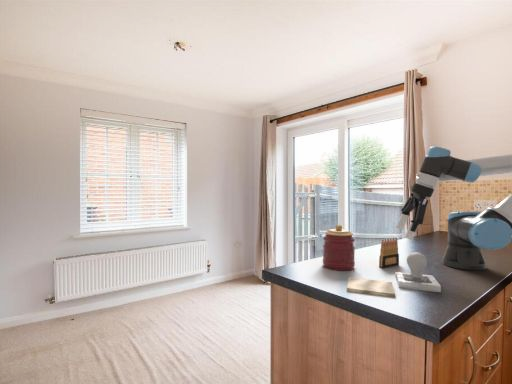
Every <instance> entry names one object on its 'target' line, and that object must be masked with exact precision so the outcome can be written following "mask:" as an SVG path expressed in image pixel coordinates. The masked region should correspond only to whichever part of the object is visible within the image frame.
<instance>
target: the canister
mask: <svg viewBox="0 0 512 384" xmlns="http://www.w3.org/2000/svg"><path fill="white" fill-rule="evenodd" d="M324 234H325V236H323V237H322V240H323V245H322V247H323V249H322V266H323V267H324V268H325V269H329V270H333V271H334V270H335V271H351V270H353V269H355V266H356V264H355V263H356V261H355V251H356V247H355V243H354V242H355V241H356V239H355V238H354V237H353V235H354V233H353V232H352V231H350V230H349V229H345V228H344V229H343V226H342V225H341V224H337V225H336V226H335V228H331V229H330V228H329V229H328V230H326V231H324Z"/></svg>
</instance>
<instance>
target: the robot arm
mask: <svg viewBox="0 0 512 384" xmlns="http://www.w3.org/2000/svg"><path fill="white" fill-rule="evenodd" d="M451 153H452V151H451V150H450V149H447V148H444V147H441V146H437V145H434V146H433V145H432V146H430V147H429V148H428V150H427V152H426V154H425V155H424V159H423V161H422V164H421V166H420V169H419V171H418V173H417V174H415V176H416V178H415V180H414V181H415V182H414V183H413V185H412V186H411V189H410V191H411V193H410V195H409V197H408V198H407V200H406V202H405V203H404V205H403V206H402V208H401V209H400V211H401V213H400V217H399V220H398V222H397V224H396V226H395V228H397V229H399V230H404V227H405V225H406V223H407V221H408V218H409V217H410V216H411V212H412V211H413V215H412V220H410V223H409V225H408V228H407V230H406V233H405V235H404V238H406V239H409V240H412V241H413V238H414V236H415V234H416V232H417V231H418V228H419V225H421V226H422V225H423V222H424V219H425V216H426V215H425V214H426V211H427V207H428V203H429V199H426V198H431V197H432V196H433V193H434V191H435V188H436V187H437V185H438V183H439V181H441V182H444V181H463V183H464V182H467V183H470V184H471V183H472V184H473V183H475V182H476V181H477V180H478V179H479V177H485V176H495V175H502V174H510V173H511V174H512V154H504V155H498V156H497V155H495V156H490V157H488V156H487V157H482V158H481V157H480V158H474V159H473V158H472V159H465V160H464V159H461V158H457V157H453V156H452V155H451ZM511 241H512V193H510V194H509V195H507V197H505V198H504V199H503V200H502V201H500V202H499V203H498V204H497V205H496V206H494V207H485V208H484V209H483V210H482V211H480V212H478V211H452V212H450V213H449V214H448V217H447V247H446V249H445V252H444V254H443V257H442V264H443V265H445V266H447V267H450V268H455V269H460V270H466V271H467V270H468V271H485V270H486V269H487V263H486V260H485V257H484V255H483V251H482V249H483V250H484V249H485V250H489V251H495V250H501V249H503V248H505V247H506V246H508V245H509V244H510V242H511Z"/></svg>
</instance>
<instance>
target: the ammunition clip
mask: <svg viewBox="0 0 512 384" xmlns="http://www.w3.org/2000/svg"><path fill="white" fill-rule="evenodd" d="M398 244H399V243H398V237H392V238H390V239H389V238H387V239H386V238H385V239H384V238H382V239H381V243H380V255H379V261H378V263H379V266H378V267H379V268H380V269H388V268H391V267H397V266H399V265H400V254H399V245H398Z"/></svg>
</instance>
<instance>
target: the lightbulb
mask: <svg viewBox="0 0 512 384" xmlns="http://www.w3.org/2000/svg"><path fill="white" fill-rule="evenodd" d="M406 264H407V265H408V267H409V269H410V273H411V276H412V280H411V281H414V282H421V277H422V275H423V272H424V270H425V268H426V267H427V264H428V260H427V257H426V256H425V255H424V254H423V253H421V252H418V251H417V252H416V251H415V252H411V253H409V254H408V256H407V258H406Z"/></svg>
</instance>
